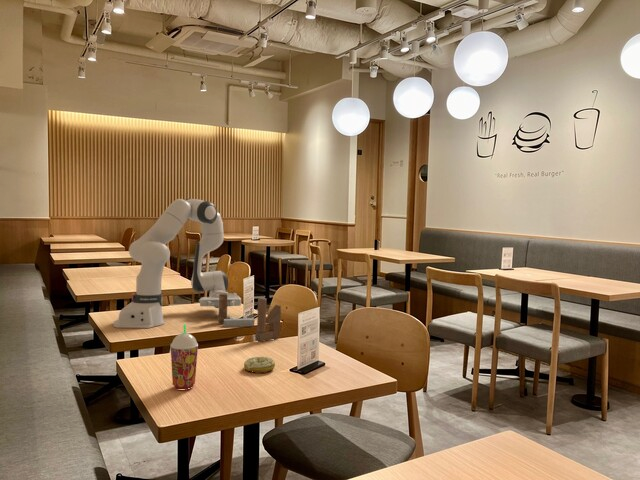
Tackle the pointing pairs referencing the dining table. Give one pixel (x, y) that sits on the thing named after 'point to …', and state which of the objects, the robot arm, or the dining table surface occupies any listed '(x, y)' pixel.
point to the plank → (222, 307)
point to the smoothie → (184, 360)
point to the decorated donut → (259, 364)
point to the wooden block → (267, 322)
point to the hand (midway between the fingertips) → (221, 304)
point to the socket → (238, 322)
